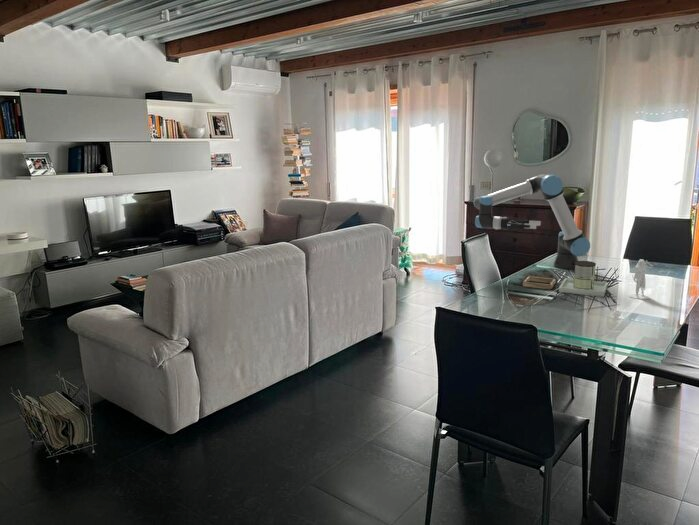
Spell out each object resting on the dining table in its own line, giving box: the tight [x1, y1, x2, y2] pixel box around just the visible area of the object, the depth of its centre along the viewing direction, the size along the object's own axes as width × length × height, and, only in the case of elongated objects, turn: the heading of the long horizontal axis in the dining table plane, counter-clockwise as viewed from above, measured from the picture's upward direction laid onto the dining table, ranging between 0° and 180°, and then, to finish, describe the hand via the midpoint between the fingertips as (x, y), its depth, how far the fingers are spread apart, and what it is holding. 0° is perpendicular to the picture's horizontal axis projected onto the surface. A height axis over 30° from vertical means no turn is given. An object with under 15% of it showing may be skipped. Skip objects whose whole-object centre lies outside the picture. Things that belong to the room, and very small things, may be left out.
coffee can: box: [573, 260, 597, 290], centre depth 286 cm, size 10×10×14 cm
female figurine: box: [628, 258, 654, 300], centre depth 268 cm, size 11×16×20 cm
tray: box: [558, 278, 608, 298], centre depth 287 cm, size 22×22×2 cm
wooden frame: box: [522, 275, 557, 290], centre depth 298 cm, size 15×15×2 cm
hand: (538, 224), depth 306 cm, fingers open, 13 cm apart
